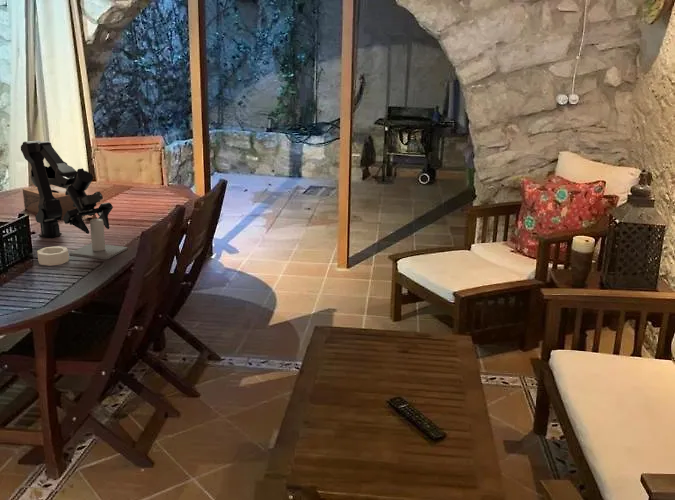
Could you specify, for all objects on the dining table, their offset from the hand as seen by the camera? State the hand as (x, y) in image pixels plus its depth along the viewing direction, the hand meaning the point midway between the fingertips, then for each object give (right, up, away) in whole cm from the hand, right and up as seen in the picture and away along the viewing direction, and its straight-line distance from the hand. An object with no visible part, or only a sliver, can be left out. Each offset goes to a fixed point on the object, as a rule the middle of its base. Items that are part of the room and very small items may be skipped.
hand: (98, 230), depth 257 cm
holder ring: (-14, -11, -8) cm, 19 cm away
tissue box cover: (-42, +10, +60) cm, 74 cm away
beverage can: (-1, -7, +4) cm, 8 cm away
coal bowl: (-56, +22, +93) cm, 111 cm away
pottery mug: (-23, +6, +49) cm, 54 cm away
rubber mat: (-1, -8, +4) cm, 9 cm away
